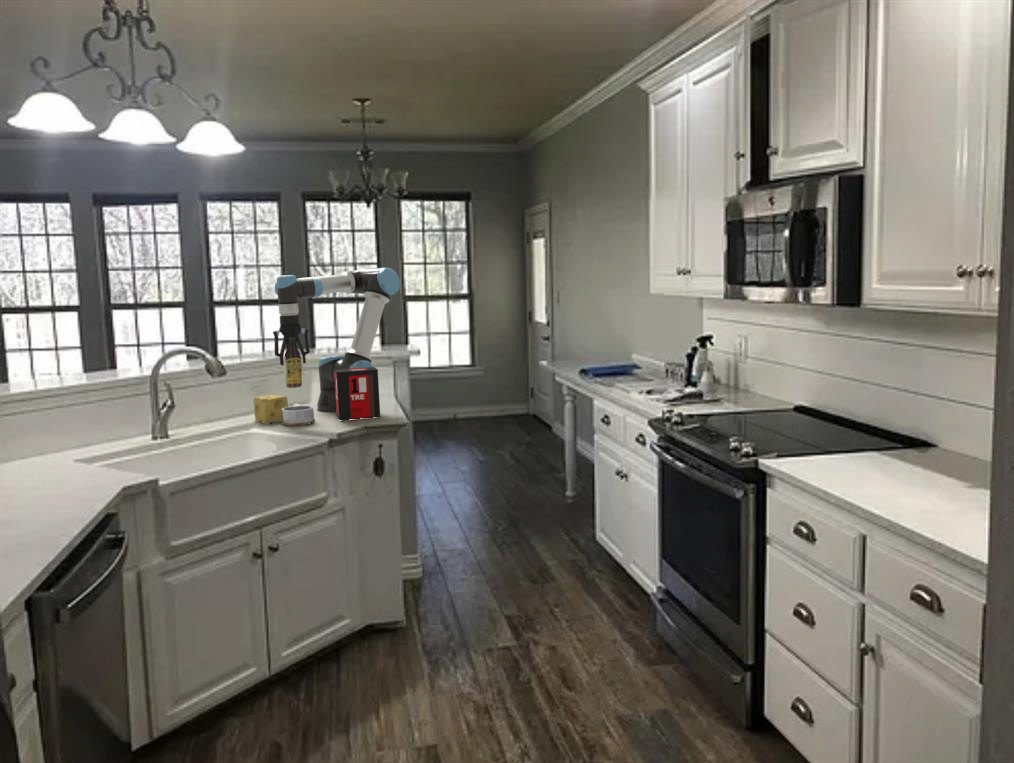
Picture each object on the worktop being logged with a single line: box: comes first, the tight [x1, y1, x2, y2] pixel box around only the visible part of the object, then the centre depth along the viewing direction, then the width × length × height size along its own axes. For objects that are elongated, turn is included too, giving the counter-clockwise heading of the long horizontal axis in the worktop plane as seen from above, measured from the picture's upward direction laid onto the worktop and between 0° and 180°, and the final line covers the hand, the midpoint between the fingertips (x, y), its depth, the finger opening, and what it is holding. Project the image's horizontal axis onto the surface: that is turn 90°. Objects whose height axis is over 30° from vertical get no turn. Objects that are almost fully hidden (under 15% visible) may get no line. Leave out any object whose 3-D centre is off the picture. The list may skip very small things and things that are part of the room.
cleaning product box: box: [334, 366, 381, 421], centre depth 351 cm, size 16×9×20 cm, turn 108°
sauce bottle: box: [284, 338, 303, 389], centre depth 342 cm, size 7×6×20 cm
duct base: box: [281, 418, 316, 427], centre depth 345 cm, size 13×13×1 cm
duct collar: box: [281, 405, 315, 423], centre depth 345 cm, size 12×12×5 cm
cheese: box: [253, 394, 289, 424], centre depth 352 cm, size 10×11×10 cm
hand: (293, 372), depth 342 cm, fingers closed on sauce bottle, 6 cm apart
